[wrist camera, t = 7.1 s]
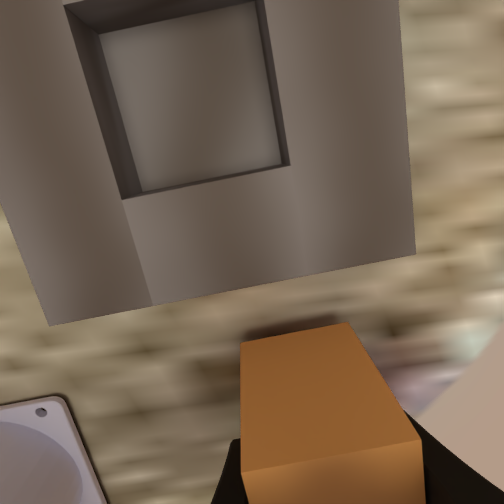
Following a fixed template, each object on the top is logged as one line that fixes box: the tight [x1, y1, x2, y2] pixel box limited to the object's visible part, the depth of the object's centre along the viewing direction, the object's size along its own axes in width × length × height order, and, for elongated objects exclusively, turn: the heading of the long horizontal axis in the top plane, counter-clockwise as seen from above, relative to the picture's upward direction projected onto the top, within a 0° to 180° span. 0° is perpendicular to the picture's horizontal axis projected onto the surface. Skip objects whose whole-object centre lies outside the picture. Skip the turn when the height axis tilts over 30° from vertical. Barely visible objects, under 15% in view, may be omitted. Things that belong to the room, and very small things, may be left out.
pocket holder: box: [0, 0, 416, 326], centre depth 12 cm, size 13×13×3 cm
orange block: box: [240, 322, 426, 504], centre depth 12 cm, size 4×4×6 cm
